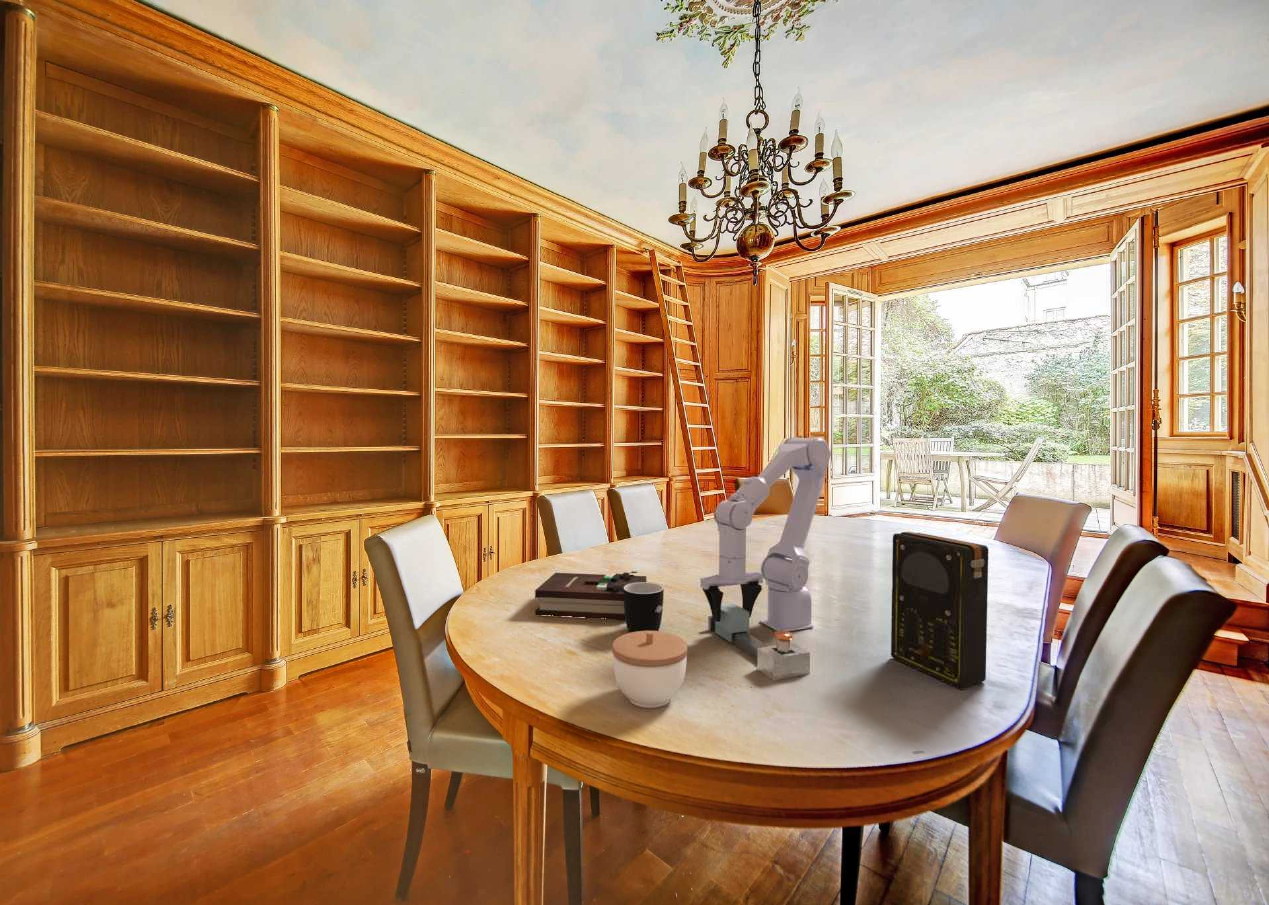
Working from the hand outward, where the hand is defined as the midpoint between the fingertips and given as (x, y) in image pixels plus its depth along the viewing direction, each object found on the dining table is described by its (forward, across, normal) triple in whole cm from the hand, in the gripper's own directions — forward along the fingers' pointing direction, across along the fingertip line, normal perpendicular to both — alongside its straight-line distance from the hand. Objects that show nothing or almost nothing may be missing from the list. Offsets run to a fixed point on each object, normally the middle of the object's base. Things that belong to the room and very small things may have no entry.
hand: (731, 618), depth 116 cm
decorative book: (+5, -22, +31) cm, 38 cm away
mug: (+4, -16, +11) cm, 20 cm away
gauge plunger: (+2, 0, -18) cm, 18 cm away
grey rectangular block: (+4, 0, -18) cm, 19 cm away
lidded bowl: (+5, -27, -18) cm, 33 cm away
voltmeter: (+4, +27, -28) cm, 39 cm away
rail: (+4, 0, -5) cm, 7 cm away
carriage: (+4, 0, 0) cm, 4 cm away
